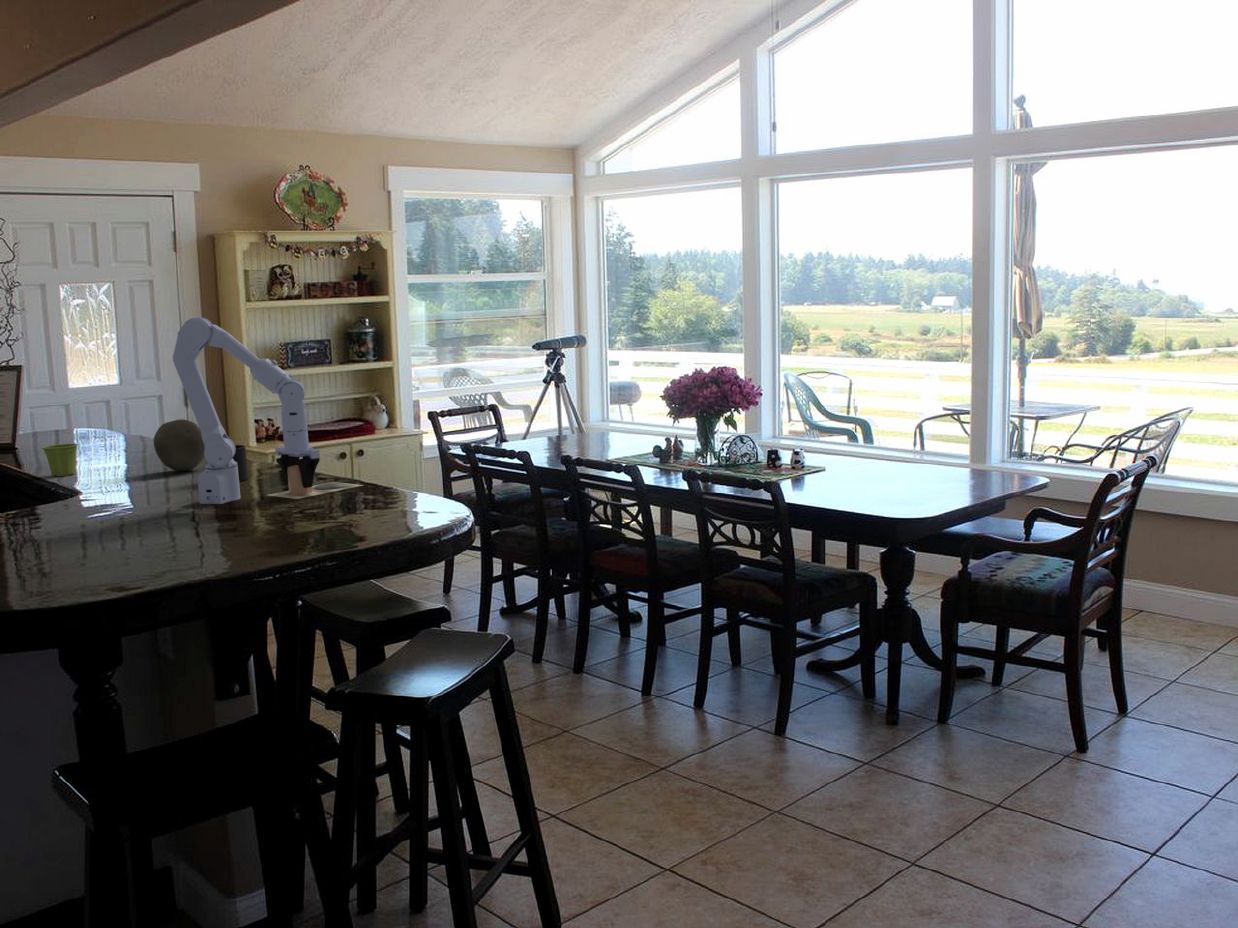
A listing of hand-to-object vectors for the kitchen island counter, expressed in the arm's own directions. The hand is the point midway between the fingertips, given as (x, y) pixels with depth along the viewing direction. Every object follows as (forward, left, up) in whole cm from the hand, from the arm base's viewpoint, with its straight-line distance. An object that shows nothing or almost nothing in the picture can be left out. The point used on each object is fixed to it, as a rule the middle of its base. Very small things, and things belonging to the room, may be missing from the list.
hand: (300, 486), depth 282 cm
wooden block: (0, 0, -2) cm, 2 cm away
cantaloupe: (+36, +62, -3) cm, 72 cm away
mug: (+23, +37, -3) cm, 44 cm away
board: (+4, -1, -3) cm, 5 cm away
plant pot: (+29, +98, -3) cm, 102 cm away
